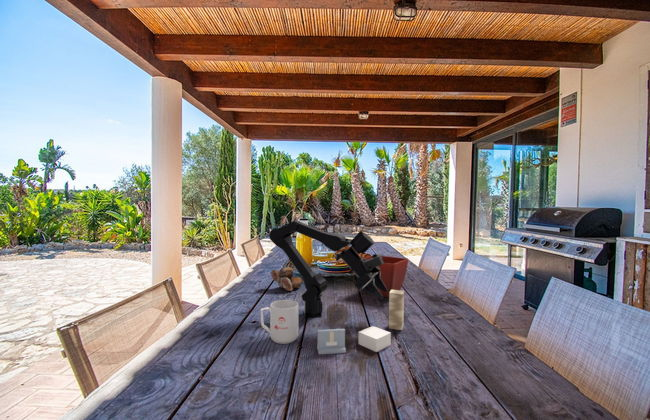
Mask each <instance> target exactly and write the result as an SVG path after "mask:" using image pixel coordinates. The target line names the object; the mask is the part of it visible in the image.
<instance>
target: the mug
mask: <svg viewBox="0 0 650 420" xmlns="http://www.w3.org/2000/svg"><path fill="white" fill-rule="evenodd" d="M299 307H300V306H299V301H296V300H292V299H278V300H275V301H272V302H271V303H270V307H262V308H260V325H261V327H262V328H263V329H264V330H265V331H267V332H268V333H269V335H270V339H271V340H272V341H273V342H275V343H276V344H281V345H282V344H283V345H284V344H285V345H286V344H291V343H294V341H296V339H297V338H298V336H299ZM264 311H268V312H270V318H269V319H270V322H269V323H270V325H269V326H270V327H268V326H267V325H265V323H264Z"/></svg>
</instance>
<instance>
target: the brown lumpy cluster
mask: <svg viewBox="0 0 650 420" xmlns="http://www.w3.org/2000/svg"><path fill="white" fill-rule="evenodd" d="M294 274H295V273H294V270H293V268H292V267H288V266H285V267H283V268H281V269H280V270H278V269H272V270H271V272H270V275H271V277H272V279H273V281H274V282H277V285H278V287H279V288H281V289H285V290H286V291H287V292H288V291H289V292H292V291H293V290H294V289H299V288H301V286H302V284H303V283H304V279H303V278H301V277H298V276H294Z"/></svg>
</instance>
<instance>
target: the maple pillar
mask: <svg viewBox="0 0 650 420" xmlns="http://www.w3.org/2000/svg"><path fill="white" fill-rule="evenodd" d="M388 298H389V299H388V301H389V302H388V329H392V330H396V331H403V327H404V323H405V322H404V318H405V316H404V315H405V314H404V310H405V309H404V308H405V306H404V305H405V290H392V289H391V291H390V292H389V297H388Z"/></svg>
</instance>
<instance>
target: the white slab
mask: <svg viewBox="0 0 650 420" xmlns="http://www.w3.org/2000/svg"><path fill="white" fill-rule="evenodd" d="M391 341H392V332H390V331H387V330H384V329H382V328H380V327H376V326H374V325H372V326H370V327H367V328H364V329H362V330H359V331H358V345H360V346H362V347H363V348H364V347H365V348H366V349H369V350H371V351H372V352H375V353H378V352H381V351H382V350H384V349H385V348H388V347H390V346H392V344H391V343H392V342H391Z"/></svg>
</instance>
